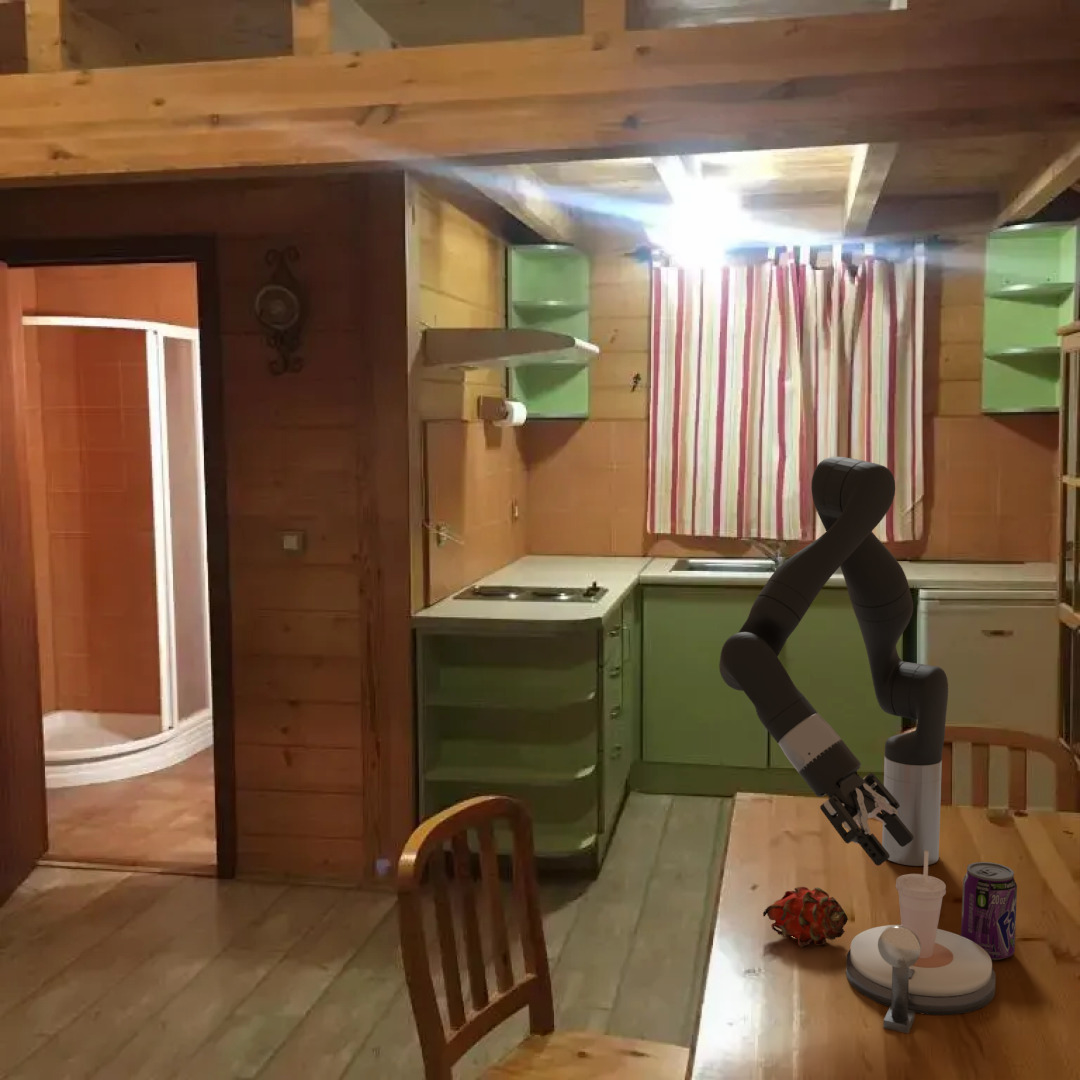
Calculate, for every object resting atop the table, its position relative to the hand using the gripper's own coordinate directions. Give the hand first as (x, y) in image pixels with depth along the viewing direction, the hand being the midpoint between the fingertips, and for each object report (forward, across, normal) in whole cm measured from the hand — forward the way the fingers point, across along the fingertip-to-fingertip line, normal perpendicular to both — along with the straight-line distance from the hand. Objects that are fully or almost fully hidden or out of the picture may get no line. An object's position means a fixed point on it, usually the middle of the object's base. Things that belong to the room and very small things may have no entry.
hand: (896, 852), depth 165 cm
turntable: (+13, 0, +8) cm, 15 cm away
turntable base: (+14, 0, +9) cm, 17 cm away
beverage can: (+18, +14, +6) cm, 23 cm away
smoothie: (+12, 0, +7) cm, 14 cm away
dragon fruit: (+2, +2, +22) cm, 22 cm away
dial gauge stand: (+16, -13, +8) cm, 22 cm away
